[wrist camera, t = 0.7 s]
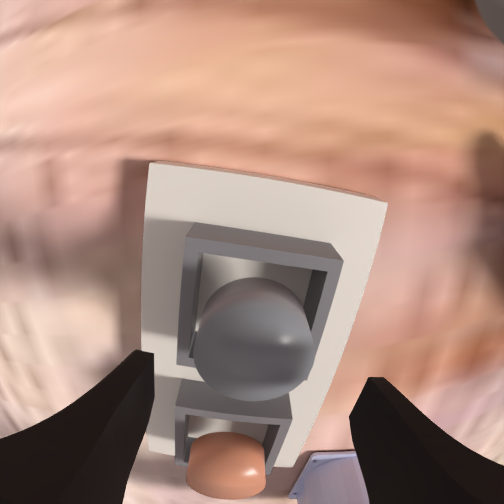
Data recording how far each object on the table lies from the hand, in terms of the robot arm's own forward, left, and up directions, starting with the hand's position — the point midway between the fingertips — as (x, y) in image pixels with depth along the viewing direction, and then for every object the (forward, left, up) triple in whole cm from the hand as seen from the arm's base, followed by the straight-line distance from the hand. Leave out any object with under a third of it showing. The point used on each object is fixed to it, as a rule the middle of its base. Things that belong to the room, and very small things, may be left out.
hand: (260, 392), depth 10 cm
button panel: (-5, 0, -9) cm, 11 cm away
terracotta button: (-10, 0, -4) cm, 11 cm away
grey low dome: (0, 0, -4) cm, 4 cm away
